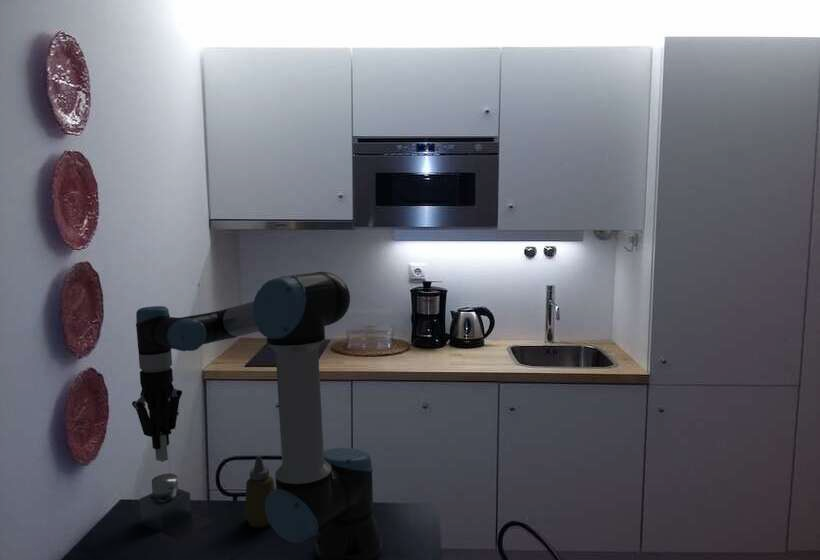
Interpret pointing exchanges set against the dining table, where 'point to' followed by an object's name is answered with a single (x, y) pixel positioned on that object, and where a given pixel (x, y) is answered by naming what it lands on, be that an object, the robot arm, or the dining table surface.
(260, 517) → the squeeze bottle
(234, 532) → the dining table surface
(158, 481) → the dark grey round knob
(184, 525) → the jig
